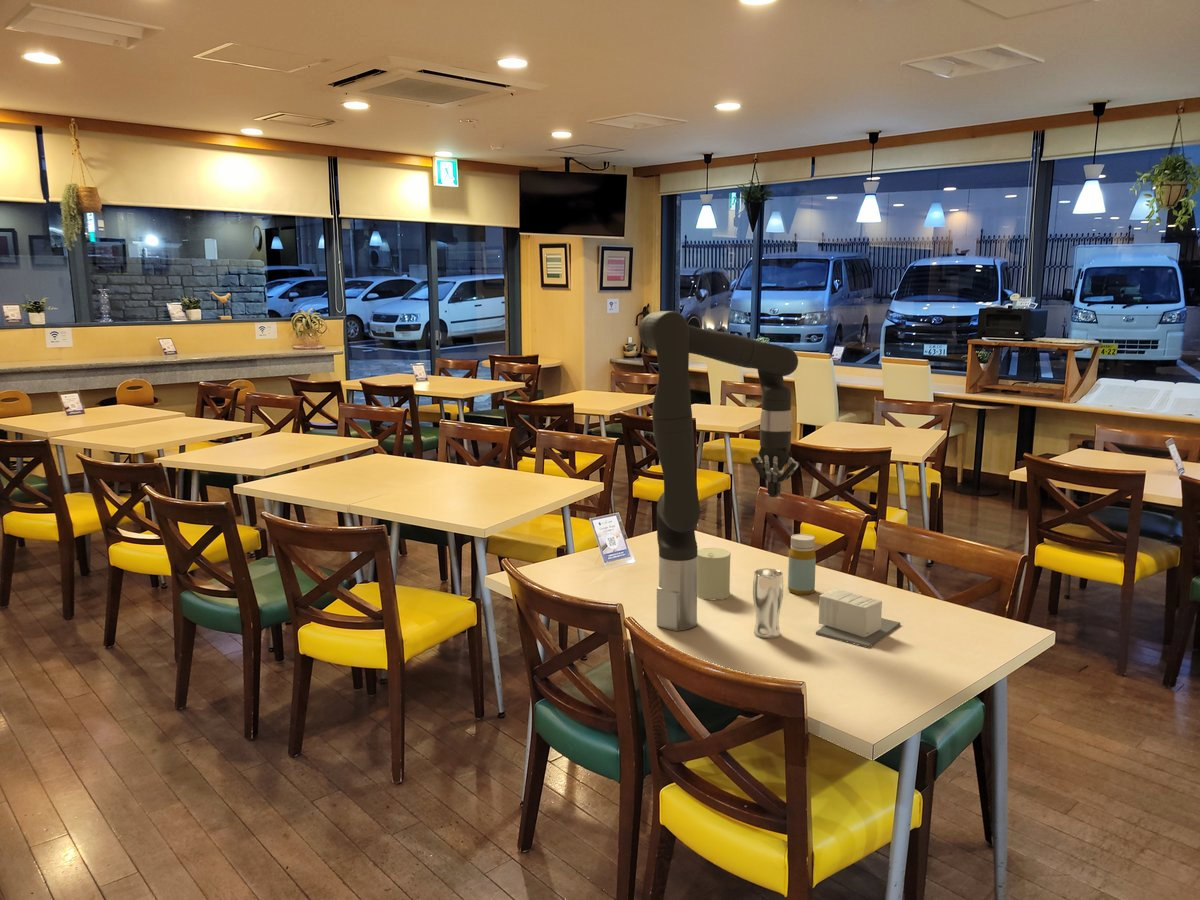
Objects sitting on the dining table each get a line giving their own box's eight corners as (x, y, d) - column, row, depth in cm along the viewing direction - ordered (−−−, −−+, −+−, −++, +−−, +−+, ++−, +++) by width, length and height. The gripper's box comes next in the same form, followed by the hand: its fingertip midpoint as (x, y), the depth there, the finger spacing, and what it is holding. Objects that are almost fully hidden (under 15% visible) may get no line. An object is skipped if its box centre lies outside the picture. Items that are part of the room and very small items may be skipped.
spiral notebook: (868, 648, 197) (868, 645, 197) (815, 634, 206) (815, 631, 206) (900, 624, 211) (900, 622, 211) (849, 612, 219) (849, 610, 219)
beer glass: (764, 641, 202) (765, 579, 199) (745, 631, 208) (747, 570, 205) (788, 636, 205) (790, 574, 202) (769, 626, 211) (770, 566, 208)
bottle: (814, 596, 231) (816, 541, 229) (787, 594, 233) (789, 540, 230) (814, 587, 238) (815, 534, 235) (787, 586, 239) (789, 532, 237)
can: (691, 597, 231) (691, 554, 229) (700, 586, 239) (701, 544, 237) (725, 602, 228) (726, 557, 226) (733, 590, 236) (734, 548, 234)
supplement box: (834, 615, 215) (881, 630, 206) (817, 623, 210) (864, 638, 201) (836, 587, 214) (883, 600, 205) (818, 594, 209) (866, 608, 200)
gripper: (744, 427, 217) (743, 495, 220) (792, 432, 208) (790, 503, 211) (759, 423, 222) (758, 490, 225) (807, 428, 214) (805, 497, 217)
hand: (773, 496), depth 218 cm, fingers closed
